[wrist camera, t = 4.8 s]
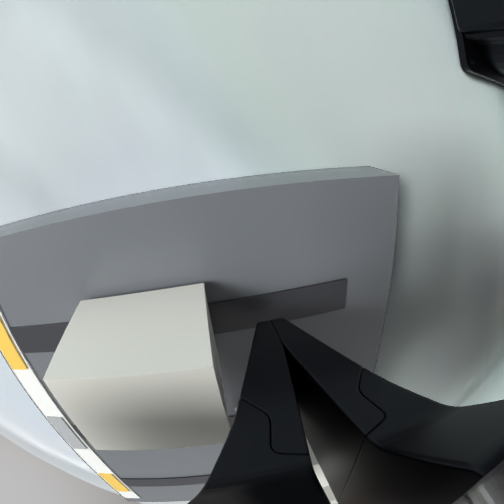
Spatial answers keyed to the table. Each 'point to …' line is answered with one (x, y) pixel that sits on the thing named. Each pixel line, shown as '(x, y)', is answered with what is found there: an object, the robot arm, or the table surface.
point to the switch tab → (142, 371)
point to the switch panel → (215, 282)
